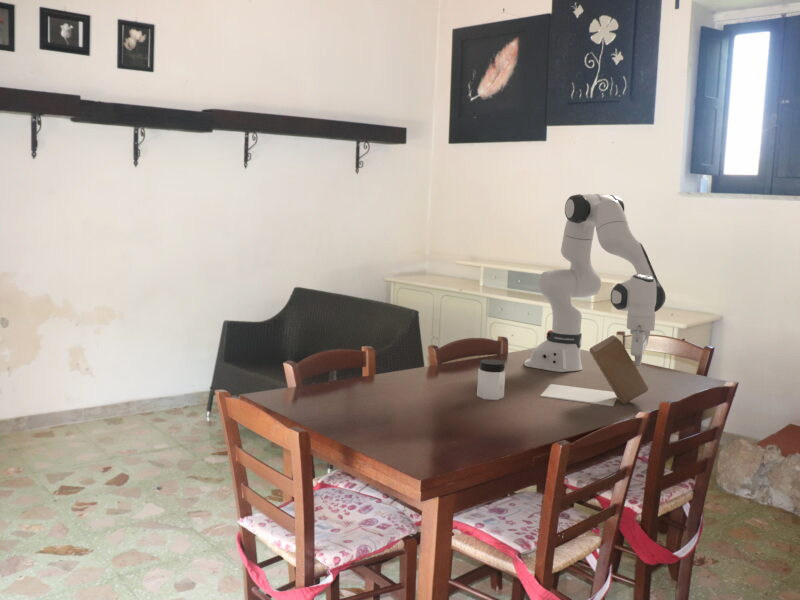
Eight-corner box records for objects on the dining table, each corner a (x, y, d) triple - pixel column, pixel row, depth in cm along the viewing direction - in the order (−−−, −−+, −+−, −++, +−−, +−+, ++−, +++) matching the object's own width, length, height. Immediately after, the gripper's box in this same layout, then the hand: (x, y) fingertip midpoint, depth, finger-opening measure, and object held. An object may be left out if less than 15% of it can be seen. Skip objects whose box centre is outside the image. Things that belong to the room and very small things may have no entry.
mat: (540, 396, 271) (540, 395, 271) (550, 385, 288) (550, 383, 288) (612, 406, 262) (613, 405, 262) (619, 393, 279) (619, 392, 279)
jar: (494, 401, 262) (496, 366, 260) (473, 397, 267) (475, 362, 265) (507, 396, 269) (509, 361, 268) (486, 392, 274) (488, 357, 272)
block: (650, 390, 262) (619, 339, 260) (623, 405, 263) (592, 354, 262) (643, 383, 272) (613, 333, 270) (617, 397, 273) (587, 348, 272)
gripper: (648, 328, 254) (645, 371, 255) (652, 321, 273) (650, 361, 274) (627, 327, 256) (624, 369, 257) (633, 319, 275) (631, 359, 276)
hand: (637, 365), depth 266 cm, fingers closed
